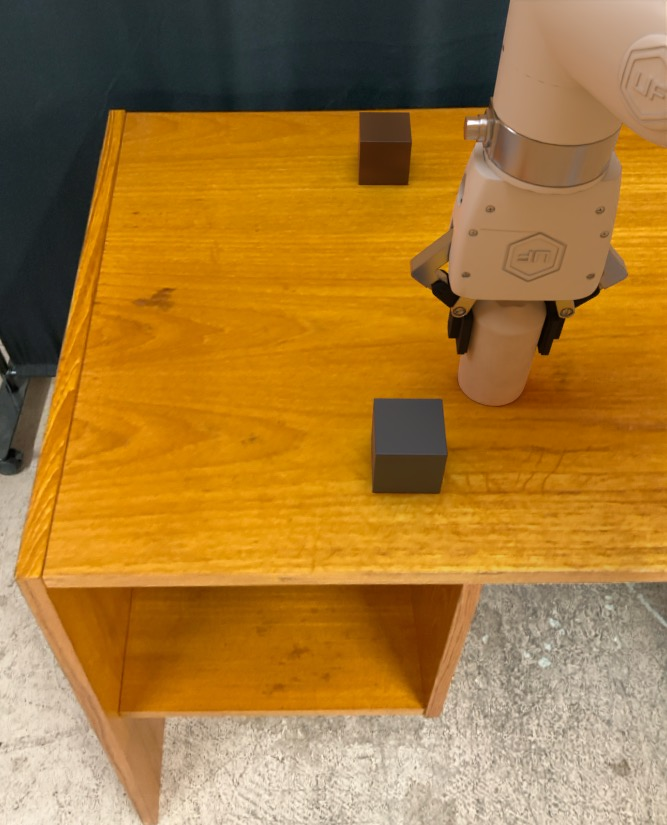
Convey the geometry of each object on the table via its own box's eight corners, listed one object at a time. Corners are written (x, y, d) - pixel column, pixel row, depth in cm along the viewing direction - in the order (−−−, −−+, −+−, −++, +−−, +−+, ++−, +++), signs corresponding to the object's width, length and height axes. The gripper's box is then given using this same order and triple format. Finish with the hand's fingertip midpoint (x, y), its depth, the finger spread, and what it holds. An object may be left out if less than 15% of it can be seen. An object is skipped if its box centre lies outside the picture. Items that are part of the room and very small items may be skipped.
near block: (435, 438, 63) (442, 398, 59) (440, 493, 60) (447, 455, 56) (370, 437, 63) (373, 397, 59) (372, 493, 60) (375, 454, 56)
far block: (405, 155, 86) (409, 112, 82) (408, 185, 83) (412, 141, 79) (358, 154, 86) (359, 111, 82) (358, 184, 83) (359, 141, 79)
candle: (533, 402, 66) (561, 314, 58) (466, 411, 65) (485, 324, 57) (513, 351, 69) (537, 262, 61) (449, 359, 68) (465, 270, 60)
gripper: (409, 173, 47) (390, 377, 61) (711, 176, 47) (621, 379, 61) (403, 99, 51) (387, 305, 66) (678, 102, 51) (602, 307, 66)
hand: (500, 339), depth 63 cm, fingers closed on candle, 5 cm apart
